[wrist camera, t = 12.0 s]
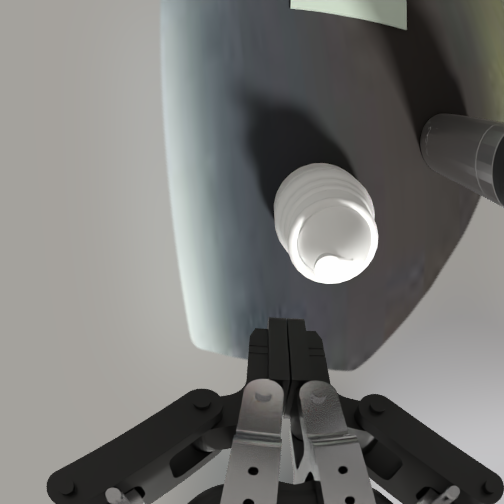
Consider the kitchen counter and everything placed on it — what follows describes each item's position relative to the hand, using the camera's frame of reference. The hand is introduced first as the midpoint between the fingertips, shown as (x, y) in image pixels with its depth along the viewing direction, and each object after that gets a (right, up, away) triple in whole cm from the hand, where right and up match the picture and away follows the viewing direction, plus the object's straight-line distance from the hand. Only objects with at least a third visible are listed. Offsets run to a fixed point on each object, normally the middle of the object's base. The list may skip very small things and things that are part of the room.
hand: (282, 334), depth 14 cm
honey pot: (+8, +10, +31) cm, 33 cm away
